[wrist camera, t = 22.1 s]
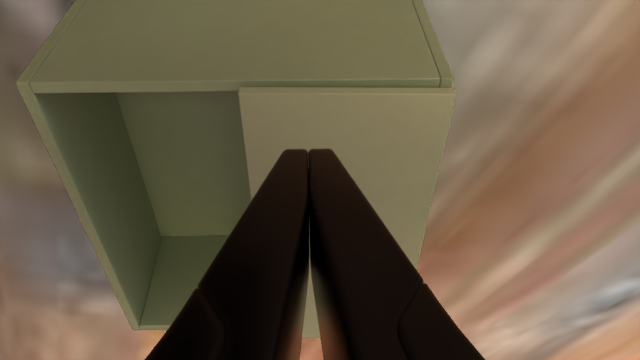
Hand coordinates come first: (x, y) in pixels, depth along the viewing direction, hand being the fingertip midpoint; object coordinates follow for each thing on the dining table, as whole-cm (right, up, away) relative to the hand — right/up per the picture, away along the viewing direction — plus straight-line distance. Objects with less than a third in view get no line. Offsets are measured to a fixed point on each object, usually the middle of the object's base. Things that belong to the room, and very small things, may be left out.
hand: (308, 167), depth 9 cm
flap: (+1, -3, +10) cm, 11 cm away
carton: (-2, +2, +15) cm, 15 cm away
